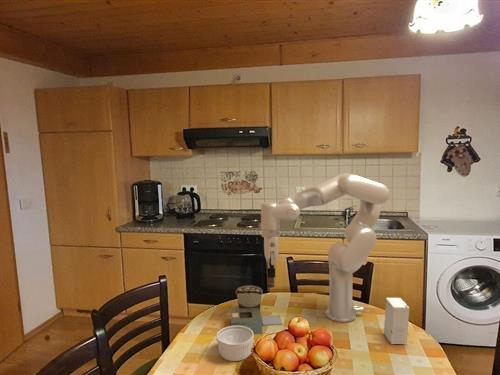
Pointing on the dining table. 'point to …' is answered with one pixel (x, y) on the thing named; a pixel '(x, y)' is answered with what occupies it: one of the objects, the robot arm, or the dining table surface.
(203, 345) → the dining table surface
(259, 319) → the switch box
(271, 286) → the brown upright bar
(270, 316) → the rest mat
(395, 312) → the skincare box
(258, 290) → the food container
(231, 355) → the ramekin
